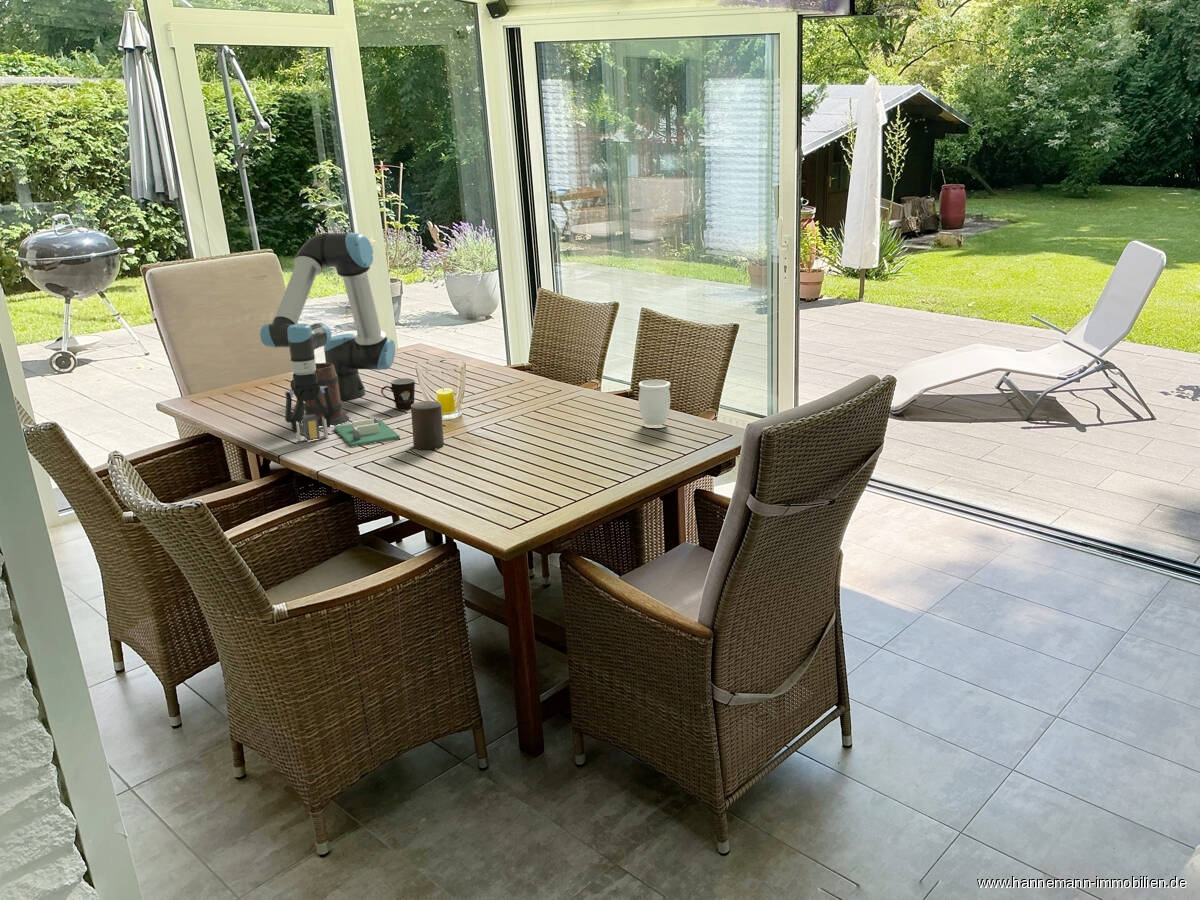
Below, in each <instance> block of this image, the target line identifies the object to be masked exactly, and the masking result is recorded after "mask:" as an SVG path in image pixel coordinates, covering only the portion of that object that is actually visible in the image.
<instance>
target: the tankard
mask: <svg viewBox="0 0 1200 900" xmlns="http://www.w3.org/2000/svg"><path fill="white" fill-rule="evenodd" d="M315 363H316V362H315ZM315 372H316V373H317V380H318V385H319V386H320V387H324V386H327V387H328V388H329V392H328V395H329V398H330V401H331V404H332V407H333V410H334V415H333V416H330V418H329V421H330V425H338V424H341V425H343V424H342V423H344V424H346V423H348V422H349V421H350V420H349V418H350V417H349V416H348V415H347V413H346V412H345V411H343V400H341V398H340V392H339V385H338V375H337V374H336V371H335V368H334V365H333V364H331V363H326V362H321V363H320V362H318V363H316V371H315ZM290 389H291V391H292V390H293V389H294V381H293V379H292V380H291V381H290ZM293 396H295V399H297V398H298V397H297V396H296V395H295V394H293ZM317 397H318V399H319V401H320V402H321V404H322V405H323V407H324V409H325V410H326V412H327V413H328V412H329V411H328V408H327V405H326V401H325V398H324V395H323V393H322V392H321V390H320V391H319V392H318V394H317ZM293 412H294V411H293ZM293 412H292V411H291V418H292V415H293ZM312 414H315V415H316V416H317V418H318V426H323V423H322V417H324V415H323V413H322V412H321V410H320V409H319V407H318V406H317V404H316V402H315V401H314V399H313V400H307V401H303V404H302V406H301V409H300V412H299V415H298V418H297V422H298V423H299V424H301V421H302V423H303V418H302V416H306V415H312ZM348 420H349V421H348ZM347 421H348V422H347ZM345 422H346V423H345ZM338 426H339V425H338Z"/></svg>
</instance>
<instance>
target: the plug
mask: <svg viewBox="0 0 1200 900" xmlns="http://www.w3.org/2000/svg"><path fill="white" fill-rule="evenodd" d="M305 415H306V414H305ZM305 415H304V416H302V418H303V419H302V420H303V426H302V427H303V432H304V439H305V438H306V439H307V440H313V439H320V440H321V438H320V428H319V426H318V418H317V416H316V415H315V414H312V415H306V416H305ZM306 439H305V440H306Z"/></svg>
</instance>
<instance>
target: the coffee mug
mask: <svg viewBox="0 0 1200 900" xmlns="http://www.w3.org/2000/svg"><path fill="white" fill-rule="evenodd" d="M415 382H416V379H414V378H410V377H409V378H407V377H404V378H396V379H393V380H391V381H390V384H391V386H389V385H386V386H383V387H382V388H381V395H382V396H383V397H384V398H386V400H387V399H388V400H390V401H392V402H393V403H395V404H394V405H395V408H396V409H397V410H398V411H409V410H411V405H412V404H414V403H415V388H416V386H415V384H416V383H415ZM385 389H390V391H391V392H392V394H393V399H392V398H391V397H388V396H386V395H385V394H384V390H385Z"/></svg>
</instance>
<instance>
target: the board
mask: <svg viewBox="0 0 1200 900" xmlns="http://www.w3.org/2000/svg"><path fill="white" fill-rule="evenodd" d="M333 428H334V429H335V430H336V431H337V432H338V433H339V434H340V435H341V436H342V437H343V438H344V439H345V440H346V441H347V442H348V443H349V444H350V445H351V446H355V447H357V446H356V445H360V446H364V445H363V444H366V445H371V444H370V443H372V444H375V443H374V442H378V443H381V442H380V441H384V442H388V440H389V441H393V440H394V439H395V440H399V439H401V438H400V435H399V434H398V433H397V432H396V431H394V429H392V427H390V426H388V425H387V423H385V422H384V421H383V420H381V419H376V418H368V419H367V418H366V419H362V420H361V419H360V420H356V421H351V423H350V424H346V425H345V424H342V425H338V426H334V427H333ZM335 430H334V431H335ZM336 431H335V432H336ZM337 432H336V433H337ZM338 433H337V434H338ZM339 434H338V435H339ZM341 436H340V437H341ZM342 437H341V438H342ZM343 438H342V439H343ZM344 439H343V440H344ZM345 440H344V441H345ZM346 441H345V442H346ZM347 442H346V443H347ZM348 443H347V444H348ZM349 444H348V445H349ZM350 445H349V446H350ZM351 446H350V447H351Z"/></svg>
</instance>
